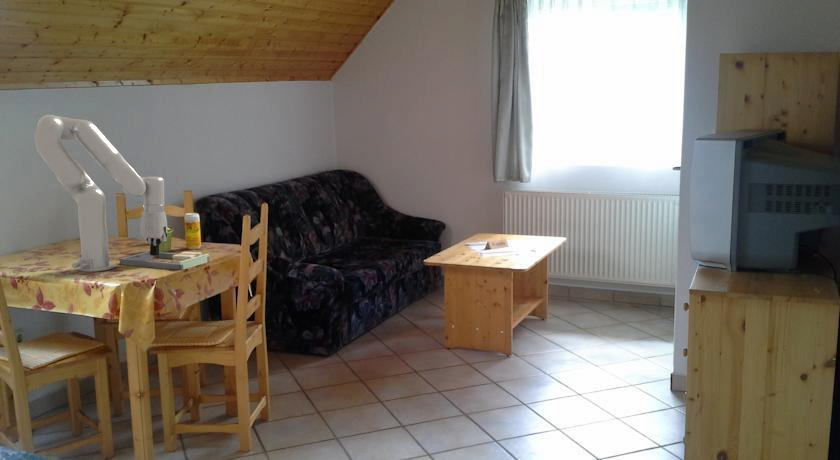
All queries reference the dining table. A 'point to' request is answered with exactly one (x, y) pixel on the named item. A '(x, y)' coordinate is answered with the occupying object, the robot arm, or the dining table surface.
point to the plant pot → (166, 243)
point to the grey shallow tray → (141, 261)
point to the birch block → (185, 256)
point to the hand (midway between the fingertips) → (154, 254)
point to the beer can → (192, 231)
